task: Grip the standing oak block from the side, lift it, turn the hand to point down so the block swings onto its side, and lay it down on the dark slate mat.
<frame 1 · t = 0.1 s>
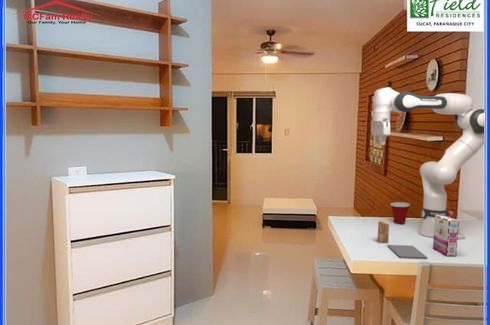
hand: (380, 144, 201), 48 cm above the table, tool pointing down, fingers open, 8 cm apart
plastic cup: (398, 223, 227), on the table
slate mat: (406, 252, 174), on the table
oak block: (382, 242, 189), on the table
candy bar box: (444, 252, 175), on the table
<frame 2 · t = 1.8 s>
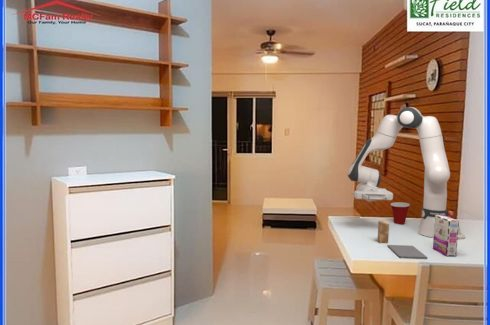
hand: (377, 198, 199), 20 cm above the table, tool horizontal, fingers open, 8 cm apart
nothing on the table moved.
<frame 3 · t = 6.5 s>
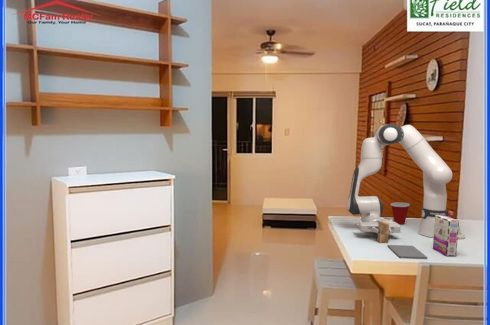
hand: (383, 231, 188), 6 cm above the table, tool horizontal, fingers closed on oak block, 4 cm apart
oak block: (382, 242, 189), on the table, touching gripper
everything else where it was.
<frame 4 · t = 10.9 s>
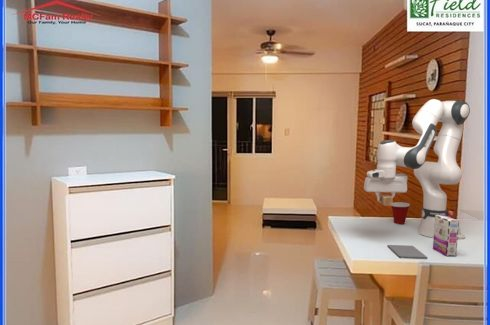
hand: (384, 201, 188), 21 cm above the table, tool pointing down, fingers closed on oak block, 4 cm apart
oak block: (388, 201, 182), point 21 cm above the table, tilted 90°, touching gripper
everything else where it was.
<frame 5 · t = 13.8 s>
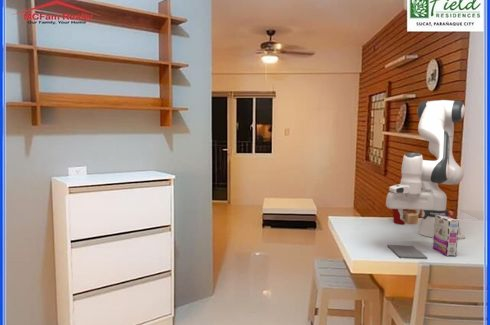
hand: (408, 218, 172), 16 cm above the table, tool pointing down, fingers closed on oak block, 4 cm apart
oak block: (413, 220, 167), point 17 cm above the table, tilted 91°, touching gripper
everything else where it was.
when the fingers open (3 cm above the table, at t = 16.2 s): oak block drops 1 cm, resting on slate mat.
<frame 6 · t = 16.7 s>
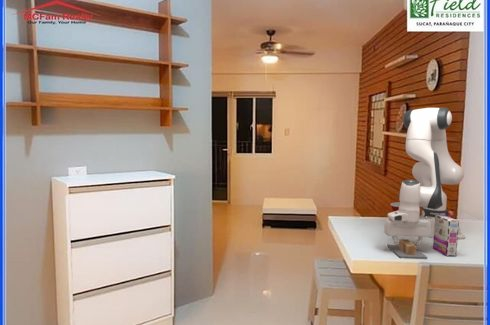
hand: (406, 245, 174), 3 cm above the table, tool pointing down, fingers open, 8 cm apart
oak block: (411, 250, 168), point 3 cm above the table, tilted 90°, touching slate mat
everything else where it was.
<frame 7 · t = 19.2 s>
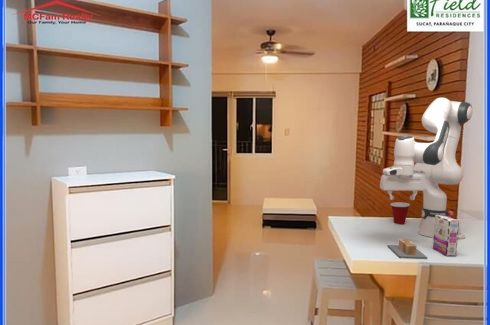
hand: (402, 199, 178), 23 cm above the table, tool pointing down, fingers open, 8 cm apart
nothing on the table moved.
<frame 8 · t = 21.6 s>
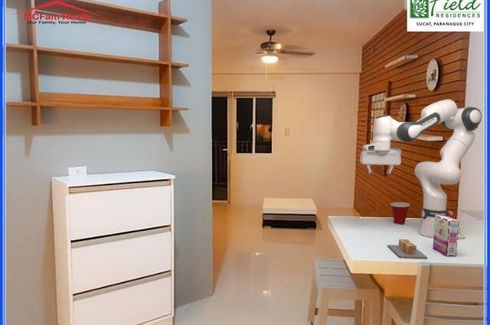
hand: (379, 173, 197), 33 cm above the table, tool pointing down, fingers open, 8 cm apart
nothing on the table moved.
at the end: oak block tilted 90°; oak block touching slate mat; the gripper is holding nothing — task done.
